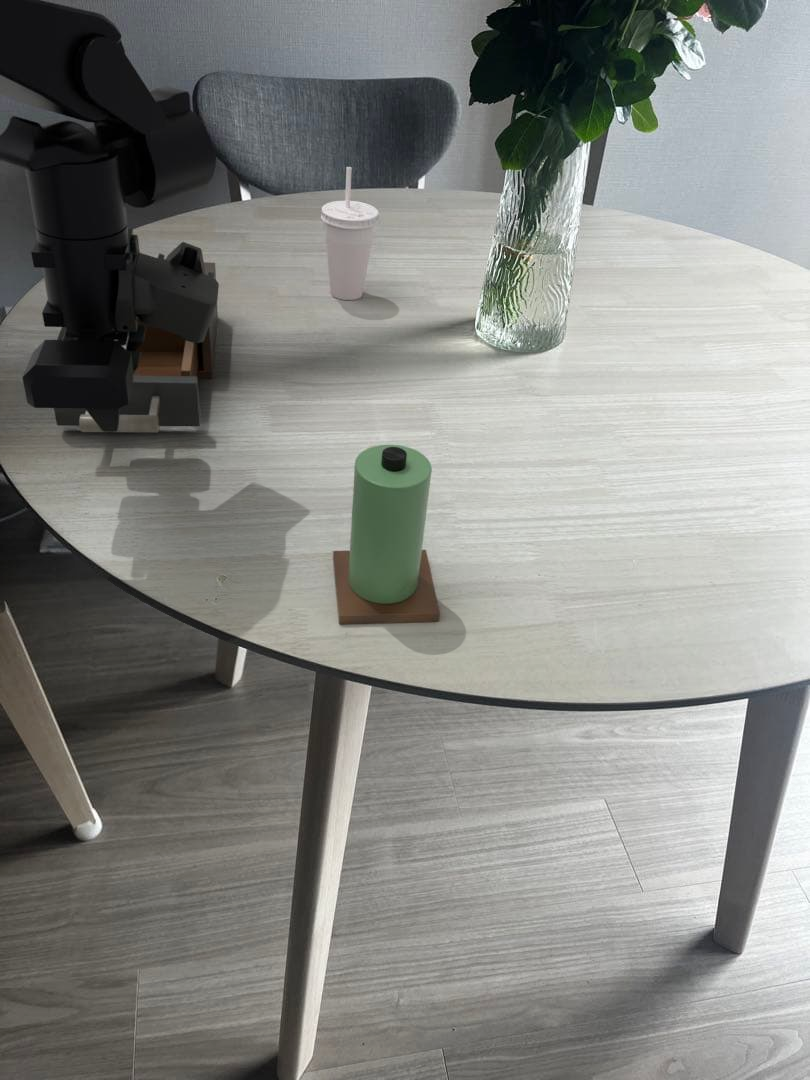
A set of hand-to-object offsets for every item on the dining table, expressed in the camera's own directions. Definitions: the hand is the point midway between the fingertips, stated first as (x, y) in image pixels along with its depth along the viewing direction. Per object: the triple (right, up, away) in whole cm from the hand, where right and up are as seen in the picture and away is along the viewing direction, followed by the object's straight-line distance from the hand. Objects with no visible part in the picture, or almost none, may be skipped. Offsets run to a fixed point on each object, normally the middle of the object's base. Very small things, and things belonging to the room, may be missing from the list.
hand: (110, 429), depth 68 cm
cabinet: (-4, +11, +23) cm, 25 cm away
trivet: (+21, -12, -3) cm, 24 cm away
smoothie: (+16, +20, +37) cm, 45 cm away
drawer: (-2, +4, +12) cm, 13 cm away
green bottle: (+21, -11, -4) cm, 24 cm away
